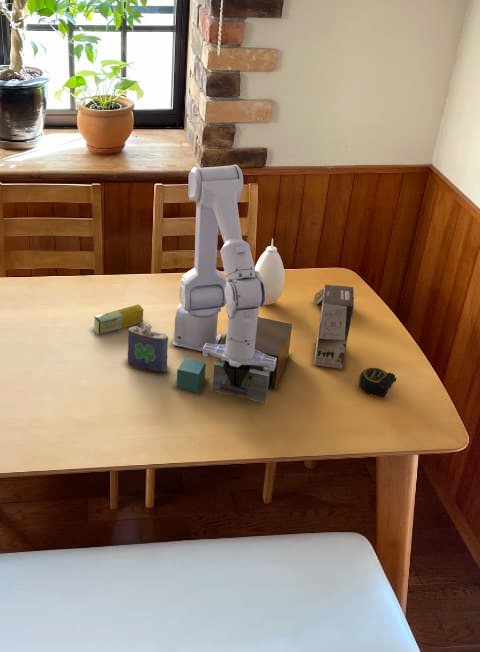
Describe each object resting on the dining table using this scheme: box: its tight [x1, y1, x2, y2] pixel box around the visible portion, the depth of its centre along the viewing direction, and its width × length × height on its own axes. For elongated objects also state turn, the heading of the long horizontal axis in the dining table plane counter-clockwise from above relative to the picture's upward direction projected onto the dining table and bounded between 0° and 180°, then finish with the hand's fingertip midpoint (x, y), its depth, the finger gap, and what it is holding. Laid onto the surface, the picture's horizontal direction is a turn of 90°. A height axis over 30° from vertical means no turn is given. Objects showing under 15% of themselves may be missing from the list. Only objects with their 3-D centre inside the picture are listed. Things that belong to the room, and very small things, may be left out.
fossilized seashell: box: [313, 285, 325, 307], centre depth 198 cm, size 8×7×10 cm
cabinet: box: [218, 316, 293, 390], centre depth 175 cm, size 14×13×9 cm
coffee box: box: [314, 284, 355, 370], centre depth 177 cm, size 9×6×16 cm
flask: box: [127, 324, 169, 374], centre depth 173 cm, size 9×3×11 cm, turn 68°
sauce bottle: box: [254, 237, 286, 306], centre depth 195 cm, size 8×8×18 cm
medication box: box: [93, 303, 144, 336], centre depth 188 cm, size 12×3×4 cm, turn 120°
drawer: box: [211, 359, 273, 404], centre depth 167 cm, size 18×11×7 cm, turn 161°
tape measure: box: [358, 367, 398, 398], centre depth 170 cm, size 7×7×4 cm
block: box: [176, 357, 207, 393], centre depth 170 cm, size 5×5×5 cm
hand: (236, 390), depth 162 cm, fingers closed, pressing on drawer
